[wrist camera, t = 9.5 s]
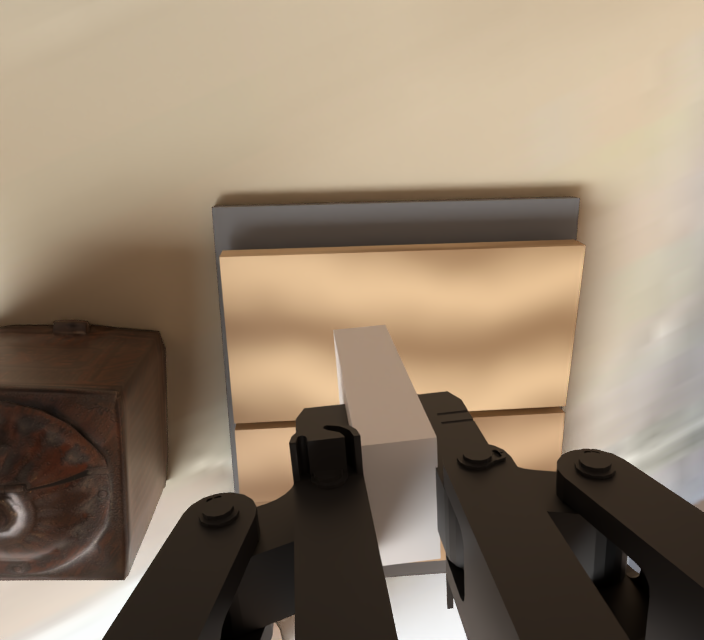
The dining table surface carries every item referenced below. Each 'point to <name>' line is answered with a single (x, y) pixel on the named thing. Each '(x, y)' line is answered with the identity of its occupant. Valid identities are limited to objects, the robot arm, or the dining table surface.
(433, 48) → the dining table surface
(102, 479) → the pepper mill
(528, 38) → the dining table surface
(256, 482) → the plank
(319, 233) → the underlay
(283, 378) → the plank
